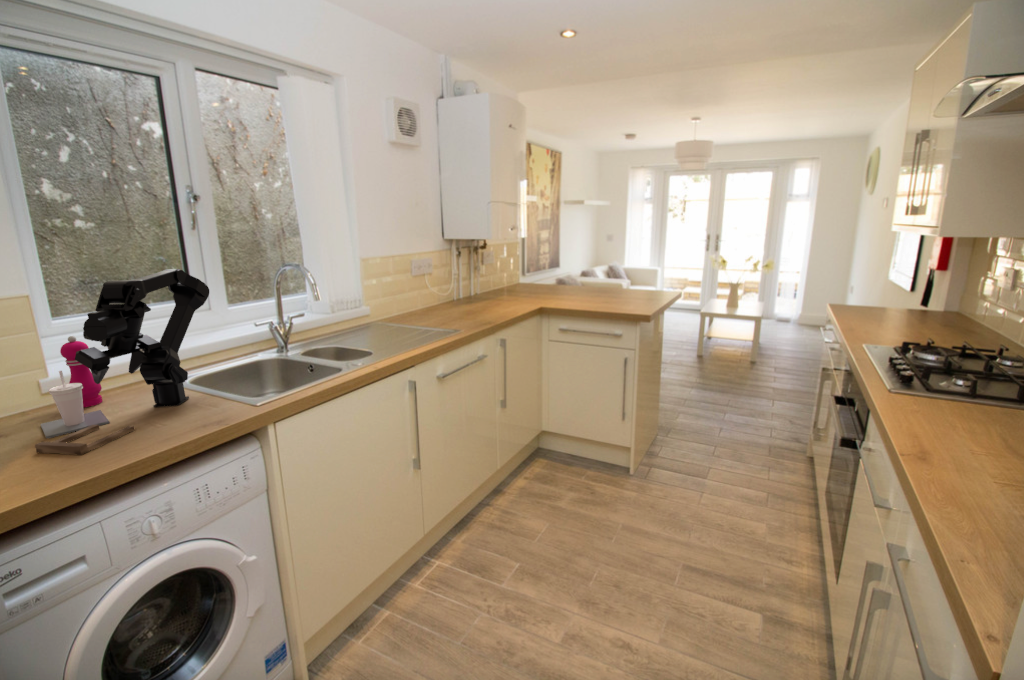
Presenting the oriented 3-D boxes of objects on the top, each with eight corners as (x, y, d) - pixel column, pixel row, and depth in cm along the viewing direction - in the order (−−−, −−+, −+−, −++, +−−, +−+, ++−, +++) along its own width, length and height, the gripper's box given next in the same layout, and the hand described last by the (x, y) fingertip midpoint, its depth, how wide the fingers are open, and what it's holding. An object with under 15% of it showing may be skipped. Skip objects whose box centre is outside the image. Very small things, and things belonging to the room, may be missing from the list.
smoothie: (53, 429, 121) (38, 375, 118) (64, 420, 127) (51, 368, 123) (85, 425, 123) (71, 372, 120) (95, 416, 129) (82, 365, 126)
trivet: (100, 411, 134) (100, 409, 133) (109, 423, 126) (109, 420, 126) (40, 425, 125) (40, 423, 125) (46, 438, 117) (45, 436, 117)
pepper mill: (78, 410, 135) (59, 340, 130) (67, 406, 139) (49, 337, 134) (109, 401, 141) (92, 334, 136) (98, 397, 145) (82, 332, 140)
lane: (93, 428, 123) (92, 420, 122) (134, 430, 121) (132, 422, 121) (36, 452, 110) (34, 444, 109) (81, 455, 108) (79, 446, 108)
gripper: (135, 306, 135) (123, 354, 140) (62, 319, 118) (51, 373, 122) (168, 326, 134) (155, 373, 139) (99, 342, 117) (87, 395, 121)
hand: (114, 377), depth 130 cm, fingers open, 9 cm apart
